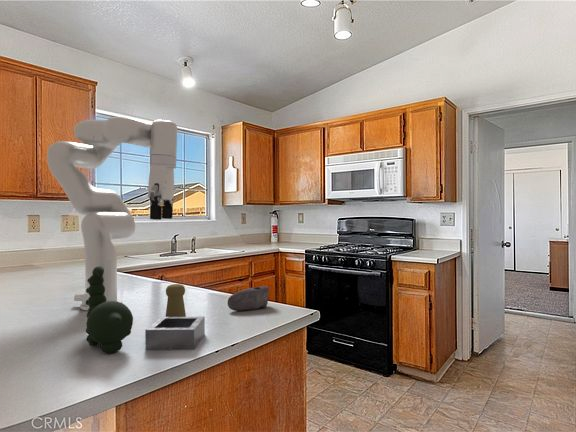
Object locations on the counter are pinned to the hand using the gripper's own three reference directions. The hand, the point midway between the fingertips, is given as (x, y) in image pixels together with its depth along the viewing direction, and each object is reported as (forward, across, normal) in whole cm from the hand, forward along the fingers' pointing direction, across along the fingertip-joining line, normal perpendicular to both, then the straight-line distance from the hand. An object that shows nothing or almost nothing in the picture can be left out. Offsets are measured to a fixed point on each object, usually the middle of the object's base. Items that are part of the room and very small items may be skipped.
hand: (161, 218), depth 116 cm
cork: (+29, +10, +8) cm, 32 cm away
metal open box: (+28, +25, +13) cm, 40 cm away
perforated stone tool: (+29, -7, +27) cm, 40 cm away
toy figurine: (+29, +27, -3) cm, 40 cm away
